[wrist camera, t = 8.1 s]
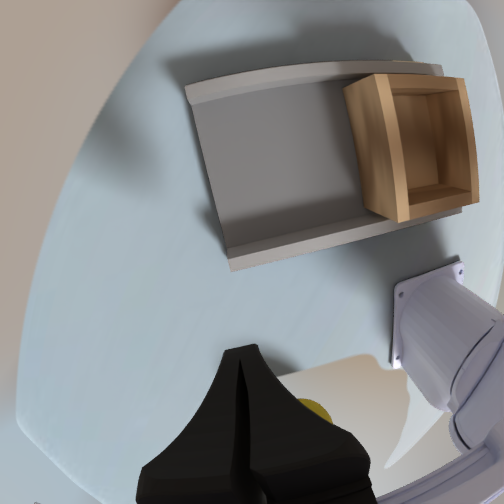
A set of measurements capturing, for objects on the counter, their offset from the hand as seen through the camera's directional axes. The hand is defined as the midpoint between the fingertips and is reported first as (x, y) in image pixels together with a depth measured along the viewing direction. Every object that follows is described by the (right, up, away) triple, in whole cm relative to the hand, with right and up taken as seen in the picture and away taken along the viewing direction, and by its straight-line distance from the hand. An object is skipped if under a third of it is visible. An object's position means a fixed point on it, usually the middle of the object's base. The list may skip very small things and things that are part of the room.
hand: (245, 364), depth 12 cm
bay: (+6, +11, +7) cm, 14 cm away
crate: (+11, +12, +6) cm, 17 cm away
